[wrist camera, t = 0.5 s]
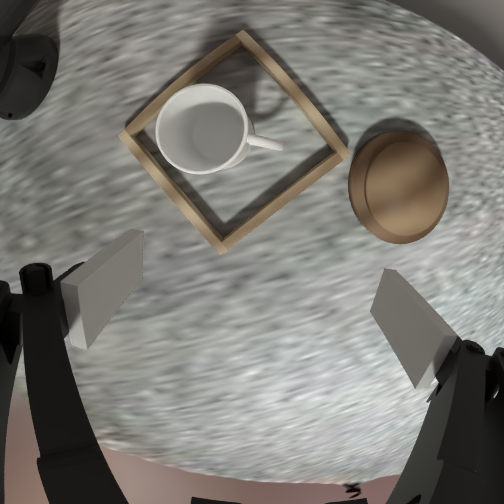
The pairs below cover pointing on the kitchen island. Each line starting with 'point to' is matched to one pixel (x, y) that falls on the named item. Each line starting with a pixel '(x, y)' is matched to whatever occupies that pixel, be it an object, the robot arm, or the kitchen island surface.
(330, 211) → the kitchen island surface
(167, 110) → the mug
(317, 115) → the square wooden frame
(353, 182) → the brown wooden saucer
